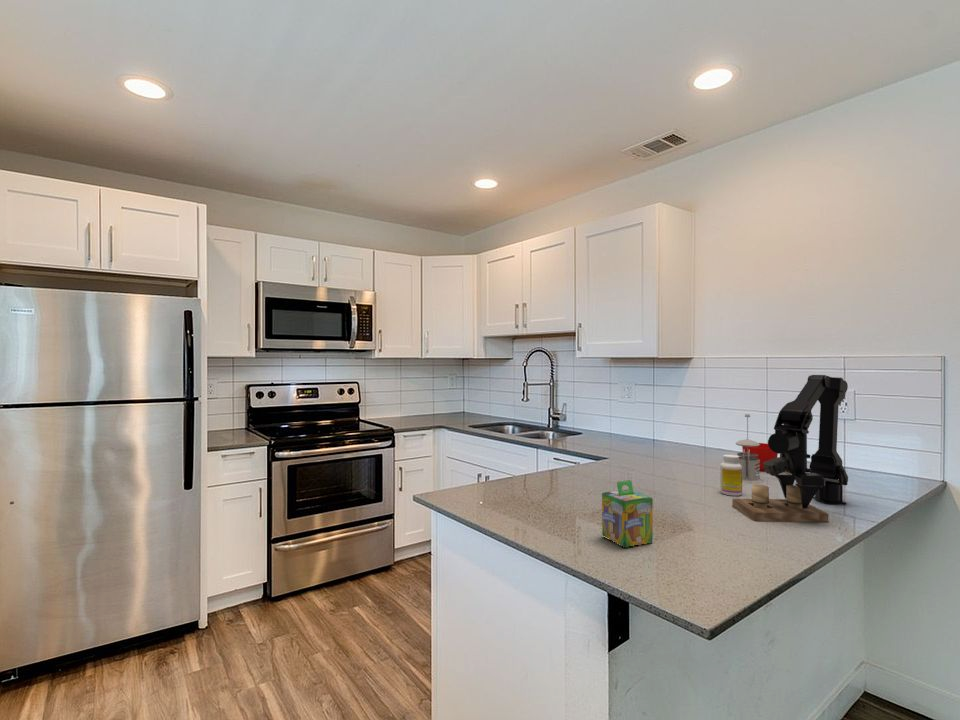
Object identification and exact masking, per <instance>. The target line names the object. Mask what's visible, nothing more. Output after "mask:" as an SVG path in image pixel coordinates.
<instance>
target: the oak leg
mask: <svg viewBox="0 0 960 720" xmlns="http://www.w3.org/2000/svg"><path fill="white" fill-rule="evenodd" d="M785 499H786V502H788V507H790V508H797V509H802V502H801V494H800V489H799V488H798V487H797V486H796V485H795V484H794V485H787V486H786V498H785Z"/></svg>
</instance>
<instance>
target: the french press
mask: <svg viewBox="0 0 960 720" xmlns="http://www.w3.org/2000/svg"><path fill="white" fill-rule="evenodd" d="M744 417H745V418H746V419H747V420H746V422H747V423H746V425H747V426H746V429H747V430H746V435H747V437H746V439H740V440H738V441H736V442H735V446H740V447H742V446H746V447H747V452H745V449H744V452H745V453H744V452H743V451H742V452H738V453H736V456H739V460H738V463H739V464H740V465H741V466H742V483H744V484H745V483H746V484H762V483H763V480H762V479H761V476H760V473H761V471H759V470H760V468H759V467H760V465H757V466H756V464H759V463H760V459H758V458H754V457H758V455H757V454H753V453H749V452H750V449H749V452H748V447H756V446H759V445H760V444H759V443H760V442H757V441H756V440H752V439H749V418H751V414H750V413H746V414H744ZM755 468H758V469H755Z"/></svg>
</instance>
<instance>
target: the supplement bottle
mask: <svg viewBox="0 0 960 720" xmlns="http://www.w3.org/2000/svg"><path fill="white" fill-rule="evenodd" d="M722 457H723V461H722V462H721V463H720V465H719V466H720V468H719V471H720V472H719V474H720V475H719V480H720V481H719V482H720V483H719V484H720V486H719V487H720V489H719V490H720V491H719V492H720V493H721V494H723V495H725V496H730V497H731V496H732V497H734V496H735V497H739V496H742V494H743V482H742V466H741V465H740V464H739V463H738V460H739V457H740V456H738V455H737V454H723V456H722Z"/></svg>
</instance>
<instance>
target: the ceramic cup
mask: <svg viewBox="0 0 960 720" xmlns="http://www.w3.org/2000/svg"><path fill="white" fill-rule="evenodd" d="M758 443H759V444H760V445H759V446H756V447H748V452H749V449H750V452H749V453H753V454H757V455H758V457H754V458H758V459H760V463H759V464H756V466H757V465H760V467H759V468H760V470H759V471H760V472H766V471H765V468H764V466H763V462H766V461H769V460H771V459H774V458H778V455H779V454H778V453H775V452H773V451H772V450H771V449H770V448H769V446H768V443H766V442H765V443H763V442H758ZM741 448H742V453H743V452H744V449H745V452H747V447H746V446H741ZM745 452H744V453H745ZM755 469H758V468H755ZM759 471H758V472H759Z"/></svg>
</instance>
